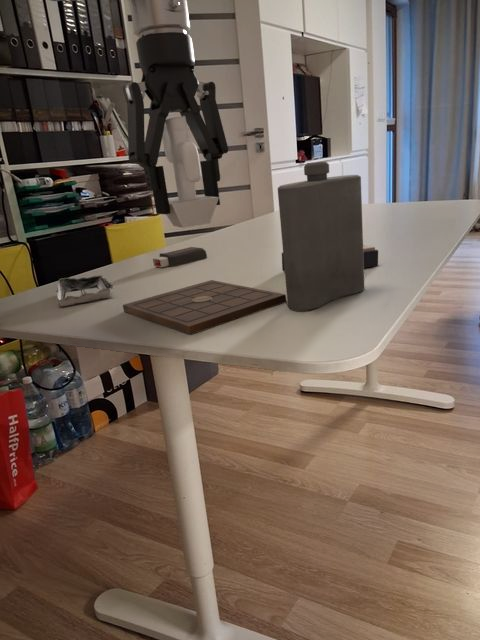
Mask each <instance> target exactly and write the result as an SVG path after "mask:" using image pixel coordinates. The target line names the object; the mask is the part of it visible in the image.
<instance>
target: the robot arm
mask: <svg viewBox="0 0 480 640" xmlns="http://www.w3.org/2000/svg"><path fill="white" fill-rule="evenodd" d="M50 1H51V2H63V1H66V0H50ZM67 1H68V2H75V1H77V0H67ZM128 1H129V8H130V15H131V20H132V21H131V22H132V28H133V34H134V35H135V36H136V37H137V38H138V39H137V41H136V42H135V45H136V51H137V58H138V63H139V68H140V70H141V72H142V73H141V74H142V77H141V81H139V82H136V81H133V82H130V83H127V84H125V85H123V87H122V92H123V95H124V99H125V102H126V104H127V105H126V106H127V108H126V110H127V141H128V142H127V146H128V147H127V149H128V150H127V151H128V153H127V154H128V155H127V156H128V161H129V163H131V164H136V165H138V166H139V167H141V168H142V169H143V173H144V177H145V183H146V188H147V190H148V192H152V195H153V202H154V207H155V214H156V215H166V214H171V213H170V207H169V195H168V189H167V182H166V177H165V170H164V165H158V162H159V161H158V160H159V157H160V156H159V155H160V151H161V146H162V142H163V139H162V136H163V131H164V126H165V121H166V120H167V119H168V117H169V114H170V113H171V112H173V113H179V114H180V117H183V116H185V117H186V123H187V127H188V128H189V130H190V133H191V134H192V136H193V138H194V140H195V142H196V145H197V146H198V149H199V150H200V152H201V154H202V156H203V158H204V159H205V160H199V162H200V169H201V179H202V185H203V186H202V187H203V193H204V196H211V197H219V199H218V202H217V205H216V206H221V201H220V193H219V183H218V182H220V181H221V171H220V164H219V160H220V159H222V158H223V155H224V154H227V153H228V152H229V146H228V141H227V138H226V134H225V131H224V126H223V123H222V119H221V115H220V111H219V107H218V103H217V100H216V99H217V98H216V97H217V96H216V91H217V90H216V88H217V87H216V84H215V82H214V81H207V82H203V81H199V79H198V77H197V76H196V73H195V64H196V60H195V51H194V43H193V37H191V35H190V34H188V33H189V32H190V31H191V24H190V14H189V8H188V1H187V0H128ZM145 96H146V97H147V98H148V99H149V100H150V104H149V110H148V116H149V118H148V124H147V129H146V134H145V103H144V99H145ZM195 96H196V97H197V98H198V99H199V104H198V102H197V99H196V97H195ZM201 113H202V115H201Z"/></svg>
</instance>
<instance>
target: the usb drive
mask: <svg viewBox="0 0 480 640" xmlns="http://www.w3.org/2000/svg"><path fill="white" fill-rule="evenodd" d="M158 255H159V256H157V257H153V258H152V262H153V263H152V264H153V266H154V267H157V268H165V267H168V268H169V267H170V268H171V267H177V266H180V265H181V266H182V265H184V264H189V263H192V262H193V263H194V262H196V261H200V260H205V259H208V255H207V250H206V249H204V248H203V247H195V246H189V247H186V248H182V249H176V250H173V251H167V252H164V253H159V254H158Z"/></svg>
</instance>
